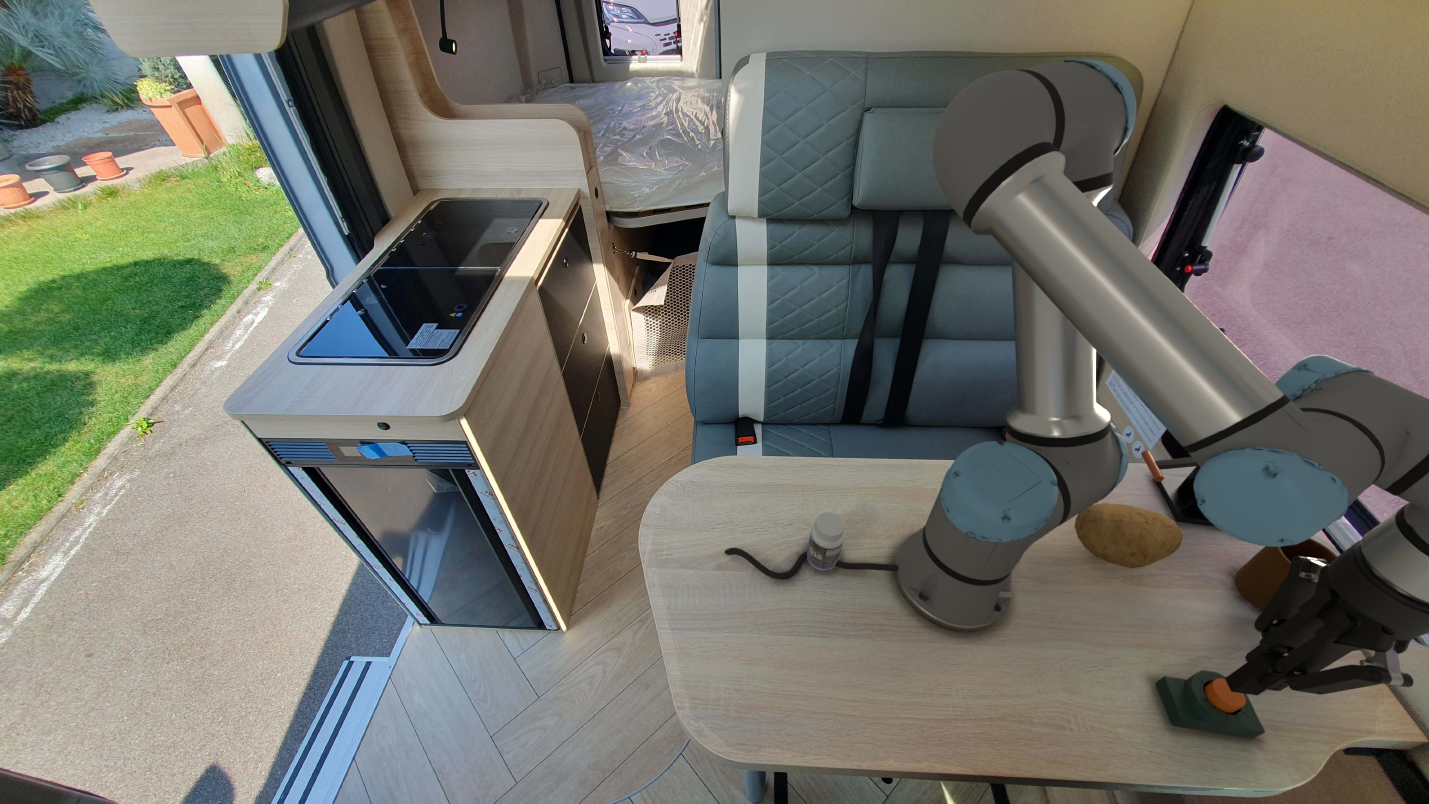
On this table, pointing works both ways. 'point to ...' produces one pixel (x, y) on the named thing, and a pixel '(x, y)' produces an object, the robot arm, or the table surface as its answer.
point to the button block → (1205, 707)
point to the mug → (1274, 569)
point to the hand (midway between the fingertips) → (1240, 686)
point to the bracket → (1182, 498)
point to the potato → (1127, 534)
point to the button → (1224, 696)
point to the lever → (1165, 464)
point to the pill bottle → (826, 541)
